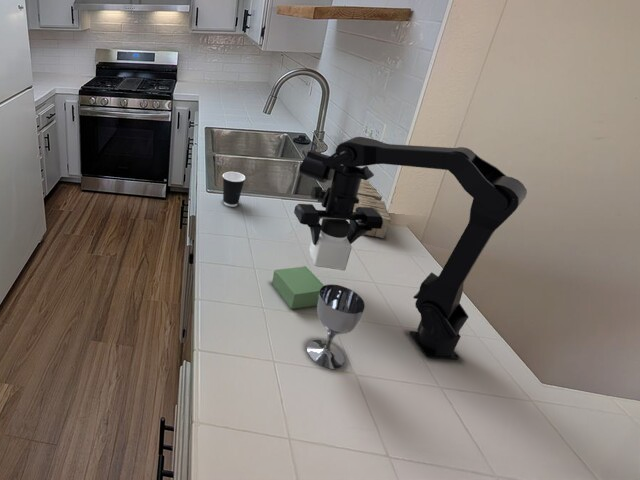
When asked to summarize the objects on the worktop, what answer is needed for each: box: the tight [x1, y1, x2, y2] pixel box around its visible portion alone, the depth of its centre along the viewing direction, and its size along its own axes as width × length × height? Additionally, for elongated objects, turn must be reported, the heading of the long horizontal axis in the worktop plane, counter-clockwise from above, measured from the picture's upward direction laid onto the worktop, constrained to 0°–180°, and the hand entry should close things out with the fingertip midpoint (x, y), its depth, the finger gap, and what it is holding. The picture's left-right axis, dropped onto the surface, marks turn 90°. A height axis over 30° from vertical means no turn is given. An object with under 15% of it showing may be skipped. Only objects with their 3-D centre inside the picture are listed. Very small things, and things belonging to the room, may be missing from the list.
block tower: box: [353, 179, 392, 239], centre depth 131 cm, size 8×8×29 cm
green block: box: [271, 265, 325, 310], centre depth 96 cm, size 9×9×4 cm
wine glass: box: [306, 284, 366, 370], centre depth 78 cm, size 8×8×15 cm
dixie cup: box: [222, 171, 246, 208], centre depth 138 cm, size 8×8×11 cm
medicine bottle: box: [308, 218, 353, 271], centre depth 96 cm, size 7×7×12 cm
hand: (330, 244), depth 96 cm, fingers closed on medicine bottle, 7 cm apart
